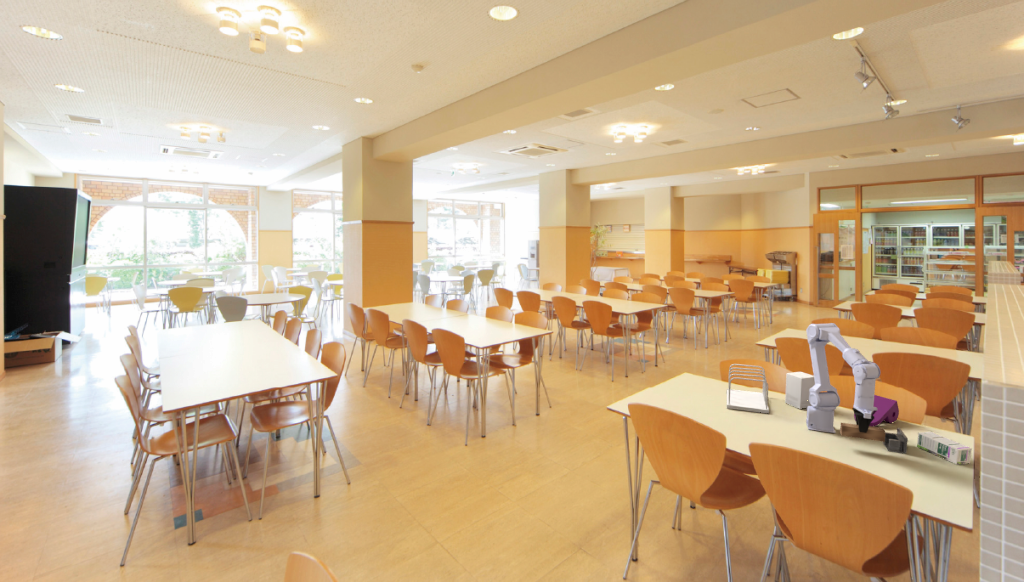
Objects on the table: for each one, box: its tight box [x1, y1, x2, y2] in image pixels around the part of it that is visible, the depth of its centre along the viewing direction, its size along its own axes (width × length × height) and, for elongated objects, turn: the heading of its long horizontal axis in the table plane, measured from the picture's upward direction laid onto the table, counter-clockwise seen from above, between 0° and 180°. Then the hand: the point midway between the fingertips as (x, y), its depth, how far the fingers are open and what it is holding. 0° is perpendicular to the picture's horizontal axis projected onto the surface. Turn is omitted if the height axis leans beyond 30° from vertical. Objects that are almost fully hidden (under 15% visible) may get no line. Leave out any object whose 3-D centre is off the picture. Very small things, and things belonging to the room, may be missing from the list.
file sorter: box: [726, 363, 770, 414], centre depth 226 cm, size 25×17×16 cm
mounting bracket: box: [853, 394, 900, 427], centre depth 201 cm, size 9×8×18 cm
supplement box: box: [784, 371, 815, 410], centre depth 220 cm, size 9×9×15 cm
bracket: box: [882, 427, 909, 455], centre depth 177 cm, size 5×10×6 cm, turn 153°
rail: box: [839, 422, 886, 443], centre depth 175 cm, size 13×3×4 cm, turn 63°
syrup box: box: [916, 431, 973, 465], centre depth 170 cm, size 6×6×14 cm
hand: (861, 430), depth 175 cm, fingers closed on rail, 3 cm apart
